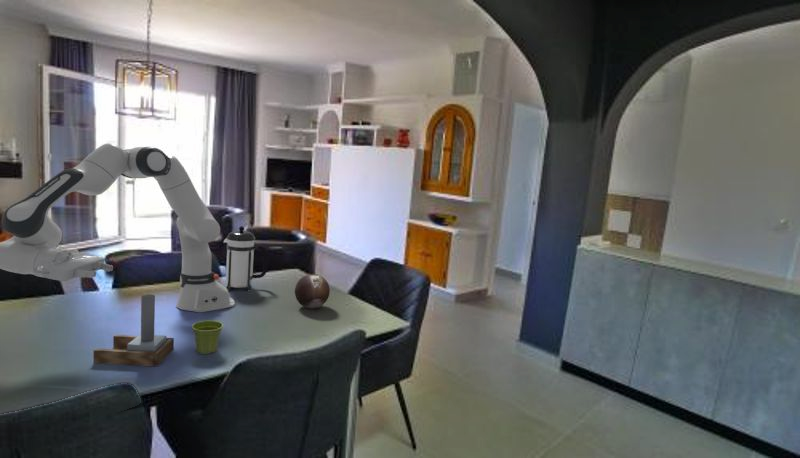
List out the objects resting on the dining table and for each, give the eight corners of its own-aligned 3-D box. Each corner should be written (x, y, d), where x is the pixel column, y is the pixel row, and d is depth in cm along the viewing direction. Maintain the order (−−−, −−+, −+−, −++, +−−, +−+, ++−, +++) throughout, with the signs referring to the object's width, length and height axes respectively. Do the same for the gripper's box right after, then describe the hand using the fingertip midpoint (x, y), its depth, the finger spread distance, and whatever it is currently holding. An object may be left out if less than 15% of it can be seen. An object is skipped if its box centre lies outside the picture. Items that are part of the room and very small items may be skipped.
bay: (173, 349, 148) (173, 338, 147) (157, 366, 136) (157, 353, 136) (115, 346, 146) (115, 334, 146) (93, 363, 135) (93, 350, 134)
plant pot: (197, 343, 154) (197, 319, 153) (225, 345, 155) (226, 321, 154) (186, 355, 145) (187, 329, 144) (217, 357, 146) (218, 331, 144)
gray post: (166, 350, 146) (167, 293, 143) (154, 361, 138) (155, 301, 135) (140, 349, 145) (140, 291, 142) (127, 360, 137) (127, 299, 134)
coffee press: (237, 294, 209) (240, 230, 205) (215, 287, 217) (217, 225, 213) (267, 287, 224) (270, 227, 220) (245, 280, 232) (248, 222, 228)
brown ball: (304, 315, 191) (307, 280, 189) (287, 304, 202) (289, 271, 200) (334, 310, 201) (337, 277, 199) (317, 300, 212) (319, 269, 210)
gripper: (31, 259, 126) (84, 267, 127) (76, 248, 146) (121, 256, 147) (28, 281, 126) (81, 289, 128) (74, 267, 146) (119, 274, 148)
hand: (103, 271), depth 138 cm, fingers open, 8 cm apart
